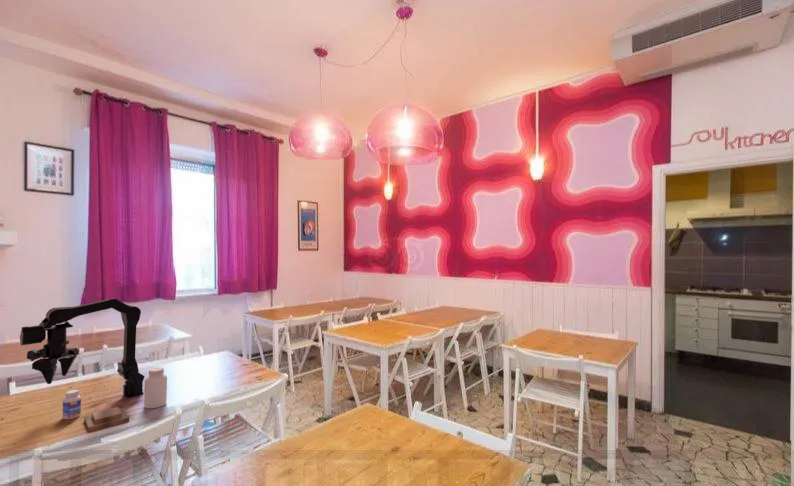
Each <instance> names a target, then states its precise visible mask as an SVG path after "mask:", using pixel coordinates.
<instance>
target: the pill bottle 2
mask: <svg viewBox="0 0 794 486" xmlns="http://www.w3.org/2000/svg"><path fill="white" fill-rule="evenodd" d="M164 372H165V369H164V367H152V368H150V369H149V370H148V376H147V377H146V378H144V390H143V391H144V392H143V393H144V394H143V395H144V396H143V397H144V398H143V405H144V408H145V409H148V410H149V409H157V408H160V407H163V406H165V405H166V404H167V397H168V396H167V395H168V393H167V390H168V377H167V375H166V374H165V373H164Z"/></svg>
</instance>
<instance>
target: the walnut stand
mask: <svg viewBox="0 0 794 486" xmlns="http://www.w3.org/2000/svg"><path fill="white" fill-rule="evenodd" d="M128 422H130V416H129V414H128V413H127V412H126V411H125V408H124V407H121V408H120V407H118V406H116V407H115V406H114V407H112V408H107V409H104V410H98V411H94V412H92V413H91V414H90V415H86V416H84V424H85V425H86V428H87V430H88V432H94V431H96V430H101V429H105V428H108V427H113V426H115V425H120V424H124V423H128Z"/></svg>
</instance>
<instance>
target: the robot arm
mask: <svg viewBox="0 0 794 486" xmlns="http://www.w3.org/2000/svg"><path fill="white" fill-rule="evenodd" d="M109 309H113V310H115V311H117V312H119V313H120V316H121V321H122V324H123V327H124V328H123V329H124V331H123V349H122V350H123V354H122V355H123V356H122V360H121V362H117V370H116V373H118V376H120V377H122V378H123V379H124V384H123V385H122V395H123V396H124V397H125V399H128V398H131V397H137V396H140V395H144V392H143V388H144V387H143V383H144V381H145V375H143V374H142V373H140V371H139V366H138V362H137V359H136V346H137V343H136V342H137V326H138V323H139V322H140V318H141V315H142V312H141V311H142V310H141V308H139V307H138V306H135V305H131V304H129V305H128V304H127V303H125V302H123V301H120V300H119V299H117V298H114V297H110V298H107V299H102V300H98V301H93V302H90V303H85V304H79V305H76V306H61V307H53V308H50V309H48V311H47V312H46V314H45V318H44V319H42V321H41V322H40V323H39V324H38V325H32V326H22V327H21V331H20V335H19V342H20V346H29V345H34V344H40V343H42V342H44V341H45V340H46V344H43V347H42V348H40V349H38V350H37V349H32V350H28V351H27V353H26V359H28V360H30V361H31V362H32V363H31V370H35V371H38V372H40V373H41V374H42V376H43V379H44V380H45V382H46V384H47V385H50V384H52V382H53V380H54V377H55V375H56V371H57V369H58V365H57V364H58V362H59V363H60V370H61V375H62V377H65V376H66V375H67V374H68V373H69V371H70V369H71V367H72V365H73V364H74V362H75V360H76V359H77V357H78V355H80V349H78V348H77V347H71V348H70V347H67V345H69V344H70V340H67V329H69V328H70V329H71V328H74V325H72V324H71V323H70V322H69V321H71V320H73V319H75V318H77V317H79V316H83V315H84V316H85V315H88V314H92V313H96V312H100V311H101V312H102V311H104V310H109Z"/></svg>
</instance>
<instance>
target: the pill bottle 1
mask: <svg viewBox="0 0 794 486" xmlns="http://www.w3.org/2000/svg"><path fill="white" fill-rule="evenodd" d="M64 393H65V397H64V398H63V400H62V419H63V420H71V419H77V418H78V417H80V416H81V413H82V412H81V411H82V410H81V408H82V407H81V406H82V396H81V395H80V390H79V389H72V390H71V389H70V390H68V391H65V392H64Z"/></svg>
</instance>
